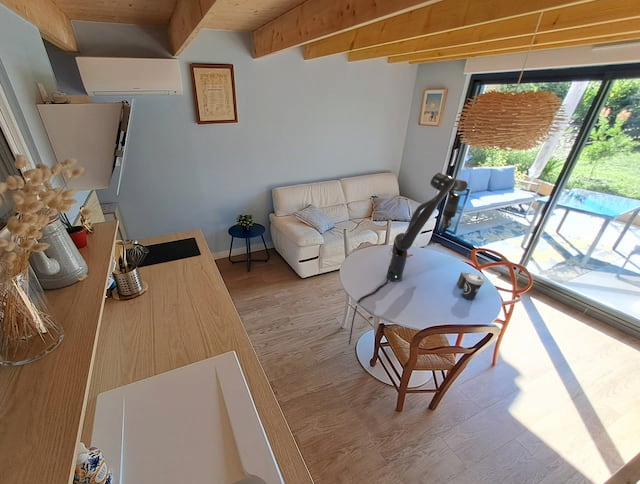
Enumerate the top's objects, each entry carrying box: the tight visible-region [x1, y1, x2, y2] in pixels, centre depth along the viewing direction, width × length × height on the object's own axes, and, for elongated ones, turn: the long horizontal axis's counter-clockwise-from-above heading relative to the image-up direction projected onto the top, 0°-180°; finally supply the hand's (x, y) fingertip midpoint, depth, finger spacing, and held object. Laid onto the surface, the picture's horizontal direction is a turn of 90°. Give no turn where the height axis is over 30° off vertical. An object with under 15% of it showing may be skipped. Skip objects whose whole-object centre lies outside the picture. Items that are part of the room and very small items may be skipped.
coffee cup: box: [461, 273, 485, 301], centre depth 177 cm, size 10×10×15 cm
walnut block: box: [457, 272, 472, 290], centre depth 188 cm, size 6×6×9 cm
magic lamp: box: [388, 247, 414, 259], centre depth 217 cm, size 7×18×11 cm, turn 77°
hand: (443, 232), depth 202 cm, fingers closed
